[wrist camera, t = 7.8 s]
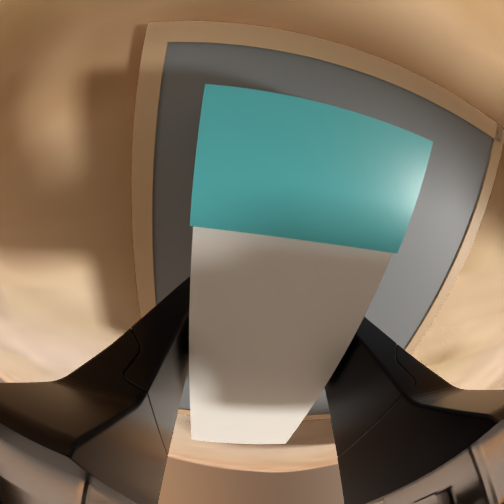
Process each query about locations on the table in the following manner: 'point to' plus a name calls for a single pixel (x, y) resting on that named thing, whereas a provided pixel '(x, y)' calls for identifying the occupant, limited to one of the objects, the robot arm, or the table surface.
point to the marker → (286, 251)
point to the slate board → (324, 91)
